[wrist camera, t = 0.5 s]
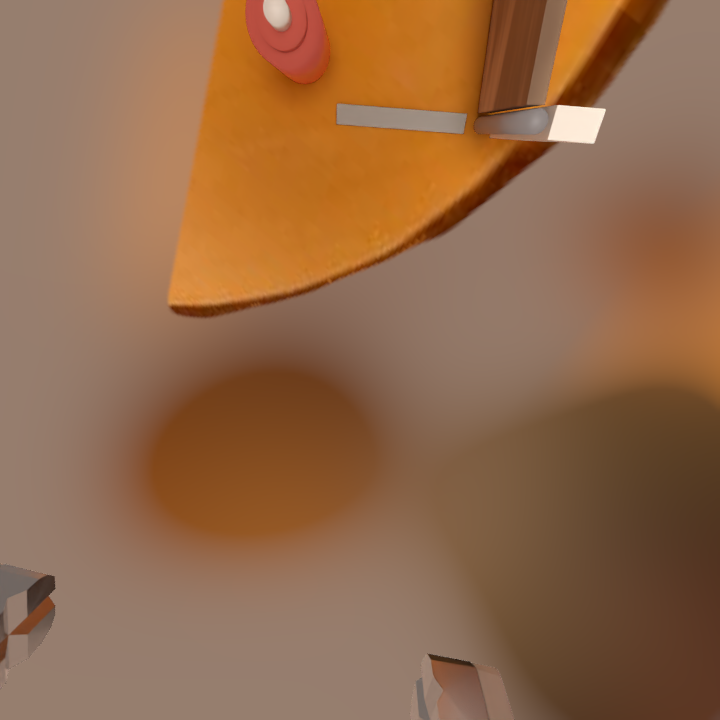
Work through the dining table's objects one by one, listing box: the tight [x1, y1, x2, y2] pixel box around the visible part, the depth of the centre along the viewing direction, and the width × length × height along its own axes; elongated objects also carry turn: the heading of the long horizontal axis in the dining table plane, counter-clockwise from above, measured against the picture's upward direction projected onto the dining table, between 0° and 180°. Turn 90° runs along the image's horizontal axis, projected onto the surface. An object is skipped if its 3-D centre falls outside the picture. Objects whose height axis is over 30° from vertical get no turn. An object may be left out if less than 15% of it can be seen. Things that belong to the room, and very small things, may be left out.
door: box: [478, 0, 567, 113], centre depth 32 cm, size 3×15×14 cm, turn 0°
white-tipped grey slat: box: [337, 104, 606, 143], centre depth 36 cm, size 2×22×16 cm, turn 86°
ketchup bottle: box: [246, 0, 330, 84], centre depth 33 cm, size 6×6×15 cm
